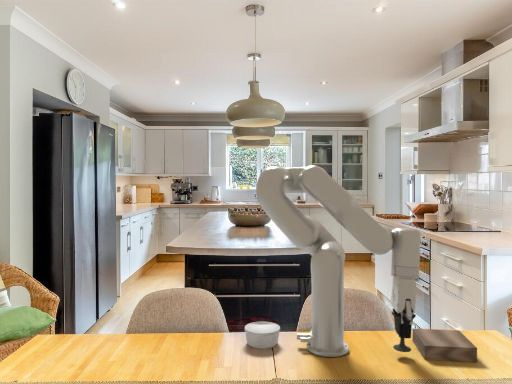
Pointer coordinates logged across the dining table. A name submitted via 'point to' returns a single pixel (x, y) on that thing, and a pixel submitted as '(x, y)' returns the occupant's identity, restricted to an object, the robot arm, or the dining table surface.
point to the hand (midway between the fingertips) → (402, 333)
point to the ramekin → (262, 334)
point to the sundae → (397, 320)
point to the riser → (444, 345)
